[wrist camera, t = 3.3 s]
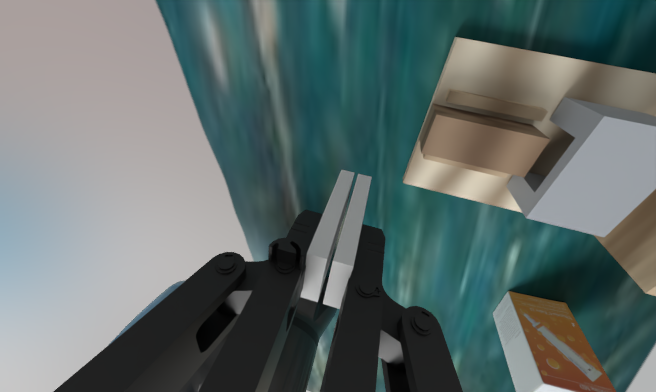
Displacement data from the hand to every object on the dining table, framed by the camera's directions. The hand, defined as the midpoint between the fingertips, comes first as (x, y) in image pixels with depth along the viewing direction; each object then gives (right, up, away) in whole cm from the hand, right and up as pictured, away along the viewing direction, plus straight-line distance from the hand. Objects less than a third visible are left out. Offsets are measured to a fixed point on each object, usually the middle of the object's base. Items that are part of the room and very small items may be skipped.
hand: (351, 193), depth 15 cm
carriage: (+23, +4, +12) cm, 26 cm away
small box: (+30, -18, +26) cm, 44 cm away
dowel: (+14, +7, +13) cm, 20 cm away
